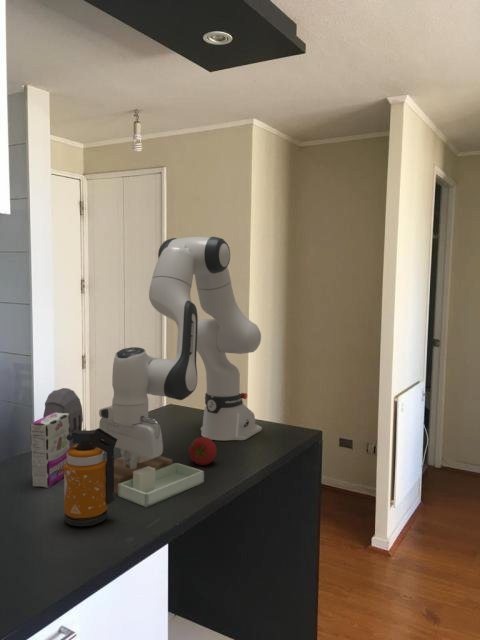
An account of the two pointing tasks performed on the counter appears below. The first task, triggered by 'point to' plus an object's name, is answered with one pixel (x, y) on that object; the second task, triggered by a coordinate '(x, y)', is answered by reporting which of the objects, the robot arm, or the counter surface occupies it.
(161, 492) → the tray
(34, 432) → the candy bar box
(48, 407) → the small grey backpack
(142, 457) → the tile
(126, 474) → the board
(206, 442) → the tomato
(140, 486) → the tile
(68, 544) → the counter surface
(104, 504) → the canister
